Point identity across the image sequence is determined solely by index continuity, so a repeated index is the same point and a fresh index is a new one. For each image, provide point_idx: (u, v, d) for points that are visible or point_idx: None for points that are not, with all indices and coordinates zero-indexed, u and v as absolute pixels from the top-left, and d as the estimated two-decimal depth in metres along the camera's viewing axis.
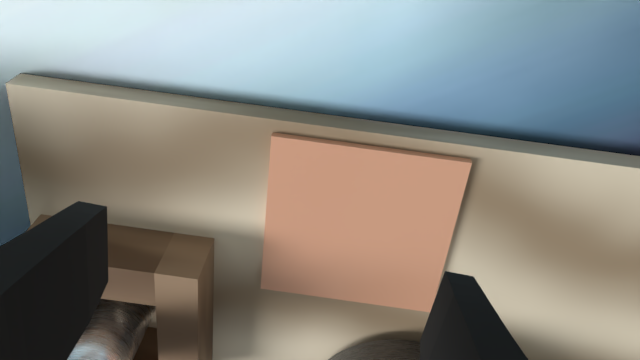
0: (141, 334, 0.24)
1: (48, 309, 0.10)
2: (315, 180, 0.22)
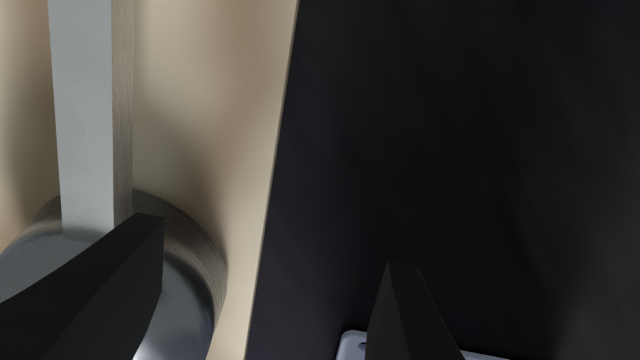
0: None
1: (115, 322, 0.10)
2: None
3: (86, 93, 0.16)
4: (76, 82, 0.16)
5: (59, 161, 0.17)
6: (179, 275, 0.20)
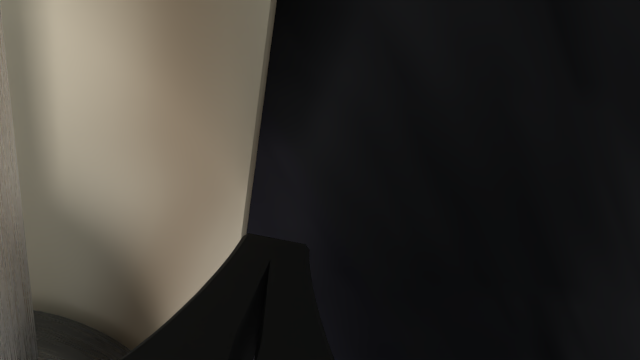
0: None
1: (244, 346, 0.11)
2: None
3: None
4: None
5: None
6: None
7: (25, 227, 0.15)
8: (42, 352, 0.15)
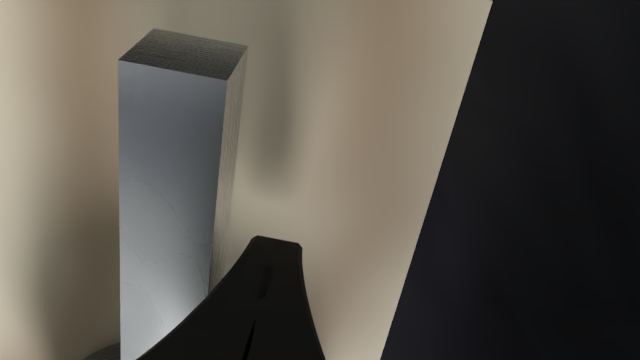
0: None
1: None
2: None
3: (170, 278, 0.11)
4: (156, 264, 0.10)
5: (121, 358, 0.12)
6: None
7: None
8: None
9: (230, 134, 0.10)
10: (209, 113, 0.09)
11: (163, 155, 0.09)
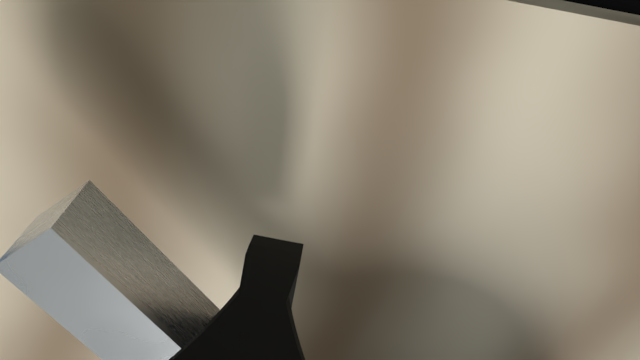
0: None
1: None
2: None
3: None
4: None
5: None
6: None
7: (447, 306, 0.15)
8: None
9: (118, 251, 0.11)
10: (66, 256, 0.10)
11: (78, 303, 0.11)
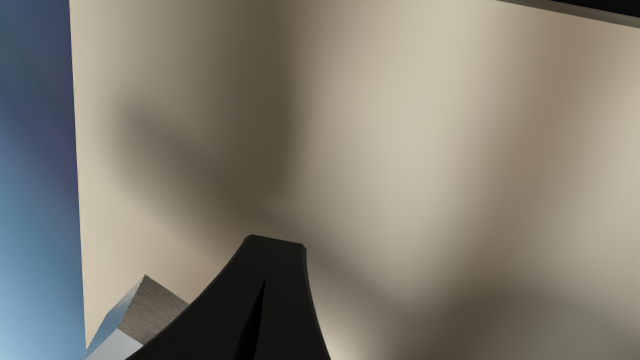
0: None
1: (248, 347, 0.11)
2: None
3: None
4: None
5: None
6: None
7: (563, 329, 0.15)
8: None
9: None
10: (135, 350, 0.12)
11: None
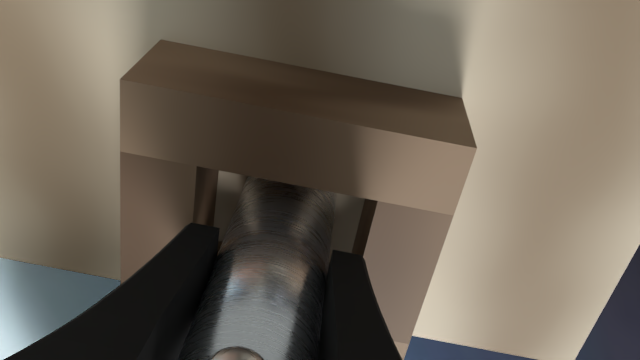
0: (280, 205, 0.13)
1: (178, 334, 0.11)
2: None
3: None
4: None
5: None
6: None
7: None
8: None
9: None
10: None
11: None
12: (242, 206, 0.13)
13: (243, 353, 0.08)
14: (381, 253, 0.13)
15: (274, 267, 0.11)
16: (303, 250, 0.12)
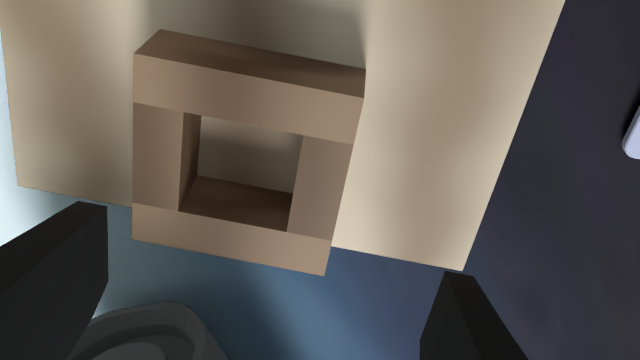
0: None
1: (48, 309, 0.10)
2: None
3: None
4: None
5: None
6: None
7: None
8: None
9: None
10: None
11: None
12: None
13: None
14: (308, 172, 0.19)
15: None
16: None
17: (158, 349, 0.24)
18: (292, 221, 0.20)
